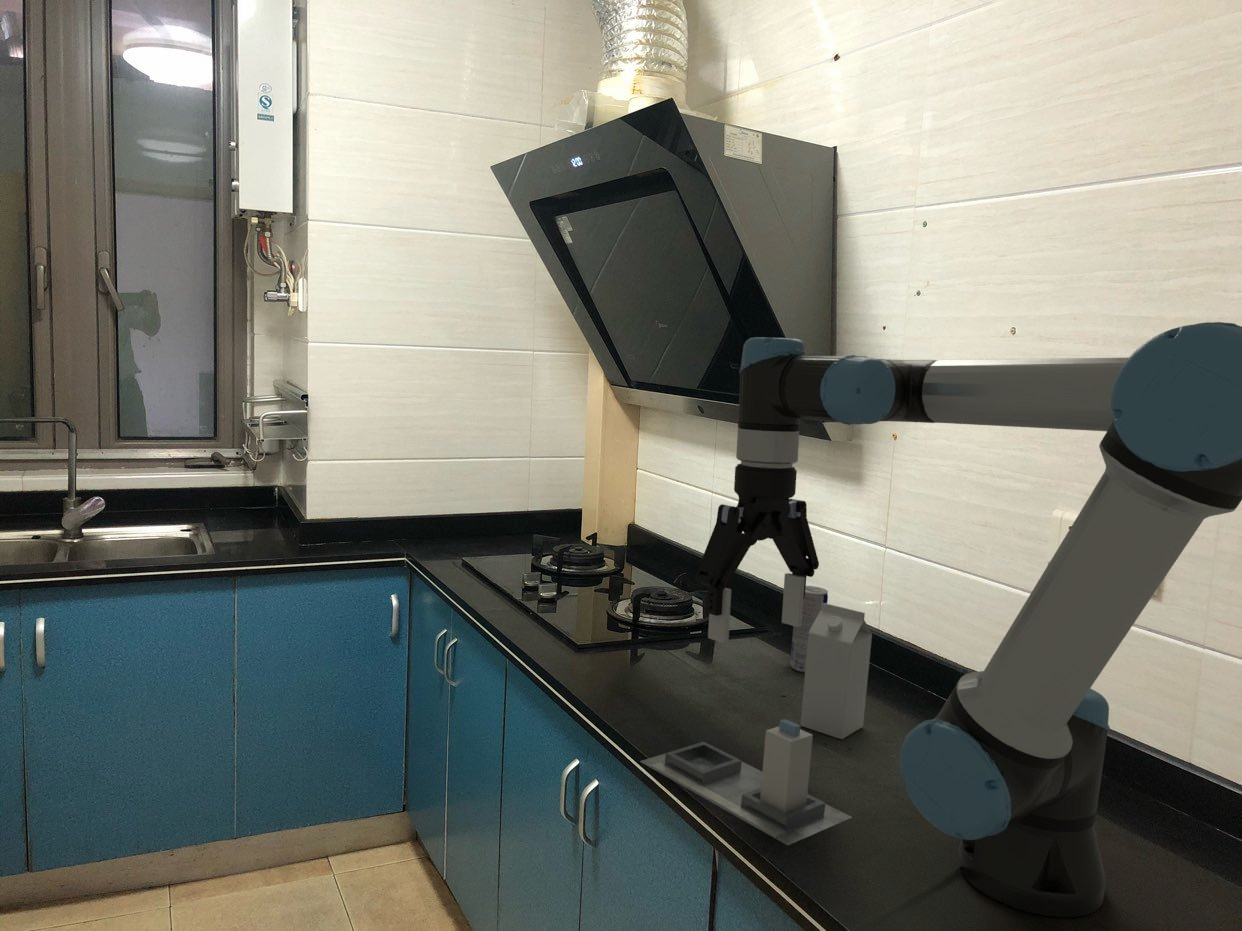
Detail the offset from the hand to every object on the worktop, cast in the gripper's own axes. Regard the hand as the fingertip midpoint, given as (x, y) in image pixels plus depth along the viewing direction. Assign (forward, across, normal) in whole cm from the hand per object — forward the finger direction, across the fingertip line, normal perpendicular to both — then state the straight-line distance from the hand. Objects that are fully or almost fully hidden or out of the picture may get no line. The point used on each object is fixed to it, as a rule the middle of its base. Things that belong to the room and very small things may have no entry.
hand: (756, 632), depth 121 cm
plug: (+21, 0, +6) cm, 22 cm away
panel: (+22, 0, -1) cm, 22 cm away
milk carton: (+22, -29, -9) cm, 37 cm away
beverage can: (+21, -47, -29) cm, 59 cm away
